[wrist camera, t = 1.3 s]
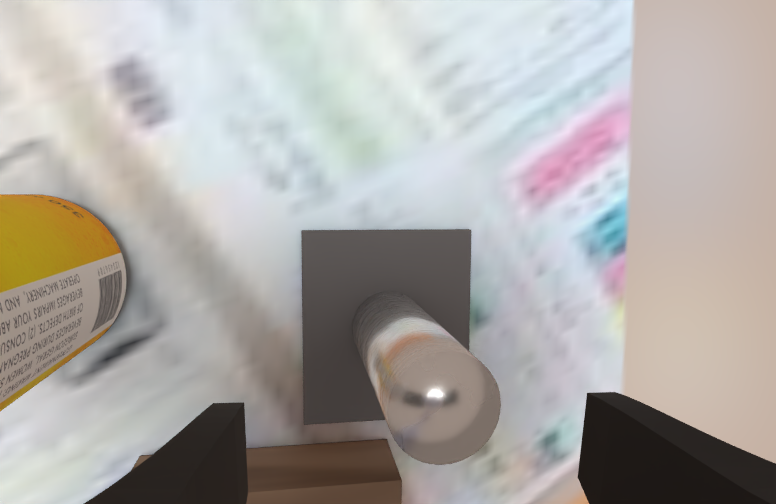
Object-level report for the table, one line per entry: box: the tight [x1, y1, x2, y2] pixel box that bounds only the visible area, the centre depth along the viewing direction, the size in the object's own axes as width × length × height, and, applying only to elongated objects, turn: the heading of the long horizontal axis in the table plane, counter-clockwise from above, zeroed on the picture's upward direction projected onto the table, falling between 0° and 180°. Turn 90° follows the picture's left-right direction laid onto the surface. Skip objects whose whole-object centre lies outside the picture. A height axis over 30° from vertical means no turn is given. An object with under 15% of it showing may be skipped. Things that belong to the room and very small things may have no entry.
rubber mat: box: [302, 229, 471, 425], centre depth 23 cm, size 8×7×1 cm
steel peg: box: [352, 291, 501, 465], centre depth 19 cm, size 3×3×9 cm
